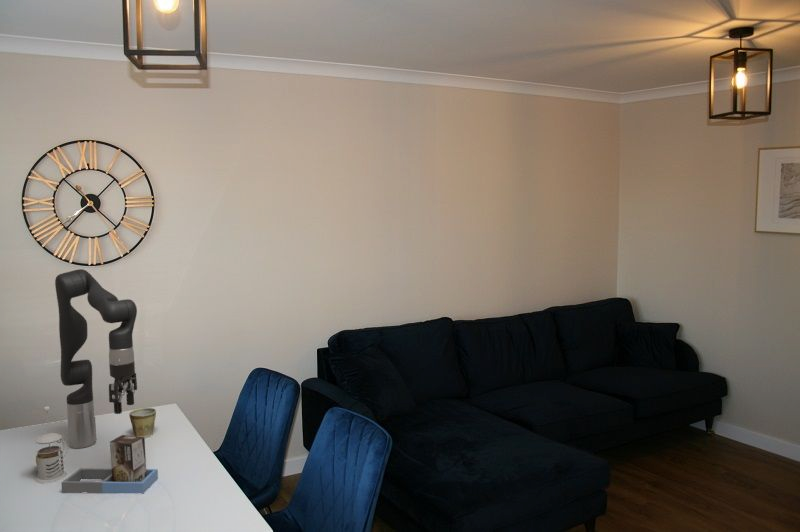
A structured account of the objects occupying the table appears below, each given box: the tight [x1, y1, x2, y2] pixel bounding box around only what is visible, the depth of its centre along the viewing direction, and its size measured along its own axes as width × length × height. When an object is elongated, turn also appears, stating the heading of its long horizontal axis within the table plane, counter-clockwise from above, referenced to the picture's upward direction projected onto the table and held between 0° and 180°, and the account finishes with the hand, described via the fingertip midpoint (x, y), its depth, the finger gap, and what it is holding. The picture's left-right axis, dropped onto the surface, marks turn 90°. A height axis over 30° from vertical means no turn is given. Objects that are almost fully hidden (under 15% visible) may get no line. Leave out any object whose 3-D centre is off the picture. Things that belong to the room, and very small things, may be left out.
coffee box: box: [109, 434, 147, 482], centre depth 209 cm, size 9×6×16 cm
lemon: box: [35, 452, 52, 467], centre depth 223 cm, size 6×6×8 cm
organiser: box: [60, 467, 159, 495], centre depth 210 cm, size 11×27×4 cm, turn 87°
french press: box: [34, 405, 69, 484], centre depth 217 cm, size 10×12×25 cm
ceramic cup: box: [128, 407, 157, 439], centre depth 257 cm, size 13×10×10 cm
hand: (124, 409), depth 208 cm, fingers open, 8 cm apart
